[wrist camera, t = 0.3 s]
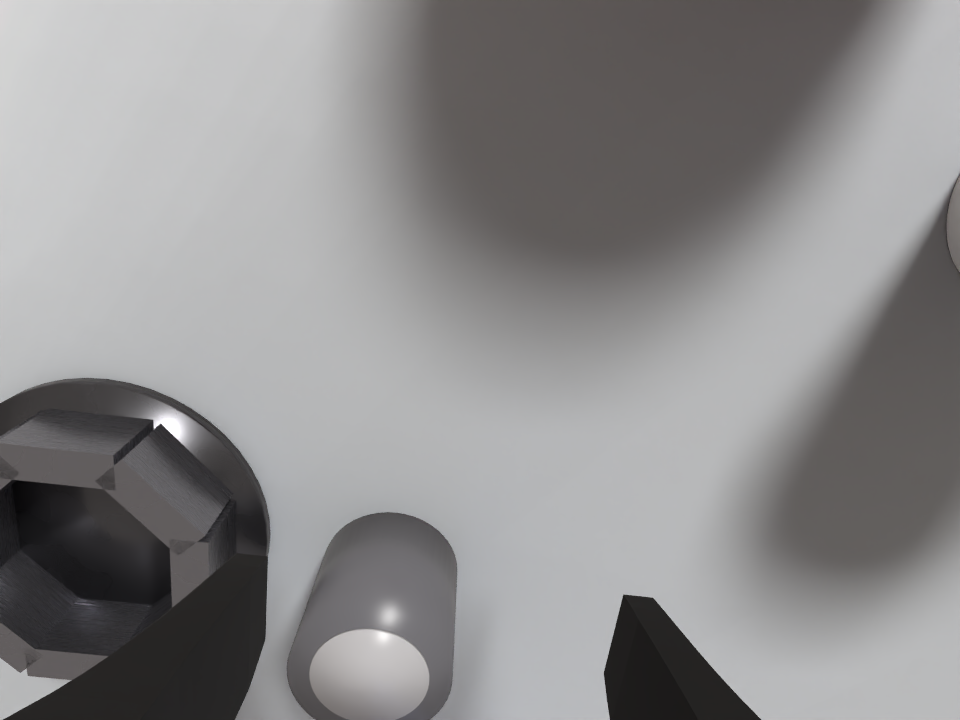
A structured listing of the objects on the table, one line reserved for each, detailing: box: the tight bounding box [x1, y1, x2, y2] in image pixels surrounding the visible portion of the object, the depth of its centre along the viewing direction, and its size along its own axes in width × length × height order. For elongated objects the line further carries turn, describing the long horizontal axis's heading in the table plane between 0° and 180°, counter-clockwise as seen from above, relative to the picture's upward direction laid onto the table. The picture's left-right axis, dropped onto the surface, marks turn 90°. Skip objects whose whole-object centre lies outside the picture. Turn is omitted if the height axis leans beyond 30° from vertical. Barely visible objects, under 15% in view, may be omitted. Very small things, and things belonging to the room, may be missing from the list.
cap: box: [287, 512, 457, 720], centre depth 22 cm, size 5×5×5 cm
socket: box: [0, 378, 270, 680], centre depth 22 cm, size 11×11×3 cm
